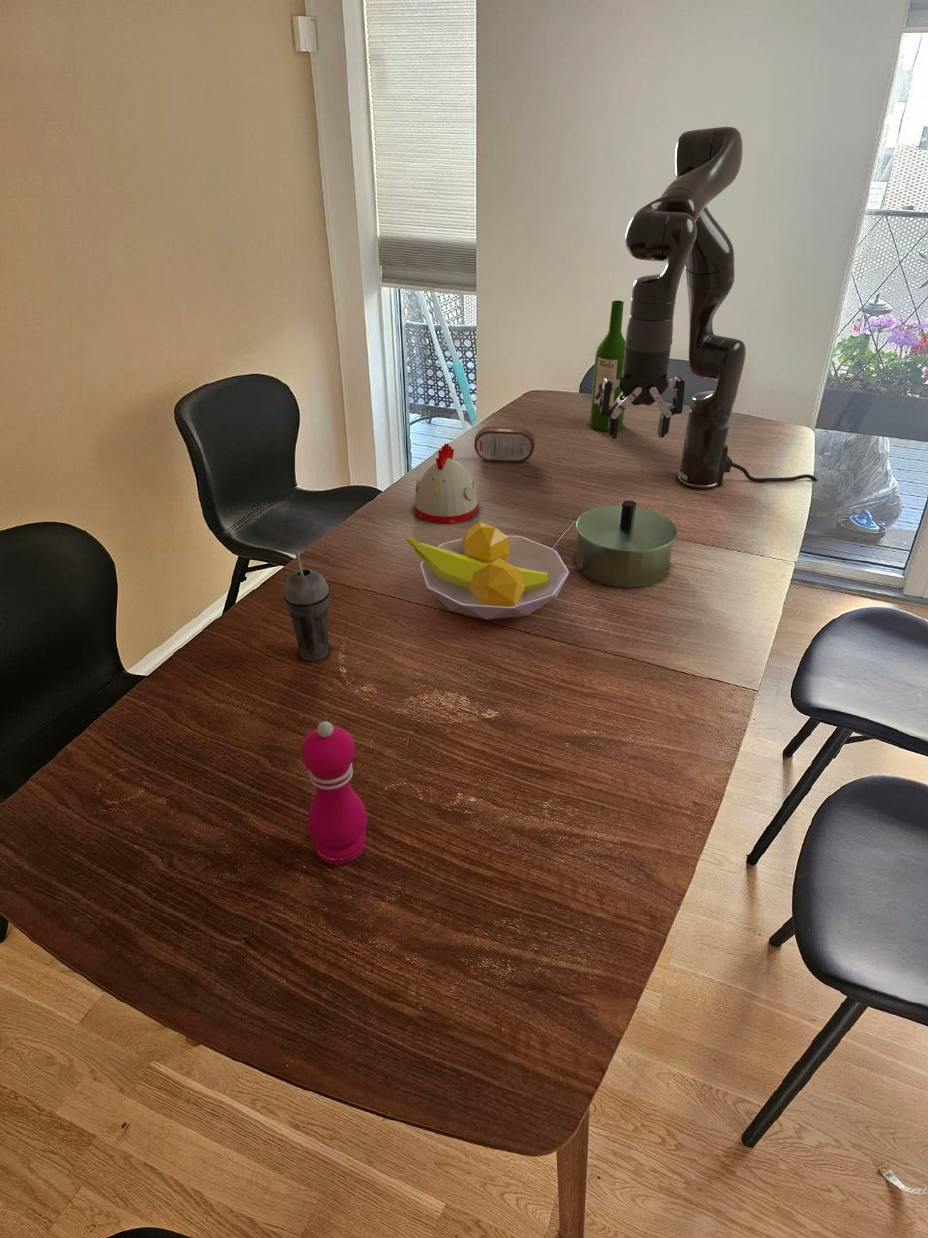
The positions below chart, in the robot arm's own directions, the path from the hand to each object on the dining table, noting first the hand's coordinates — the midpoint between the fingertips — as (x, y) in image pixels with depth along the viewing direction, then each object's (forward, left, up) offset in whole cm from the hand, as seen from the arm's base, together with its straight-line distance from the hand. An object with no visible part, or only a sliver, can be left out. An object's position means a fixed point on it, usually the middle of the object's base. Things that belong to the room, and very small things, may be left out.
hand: (637, 436), depth 143 cm
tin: (+19, -53, -26) cm, 62 cm away
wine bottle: (-11, -76, -26) cm, 81 cm away
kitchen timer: (+34, -26, -26) cm, 50 cm away
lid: (0, 0, -19) cm, 19 cm away
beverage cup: (+57, +27, -26) cm, 68 cm away
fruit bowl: (+27, +10, -26) cm, 39 cm away
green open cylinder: (0, 0, -26) cm, 26 cm away
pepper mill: (+49, +68, -26) cm, 88 cm away
